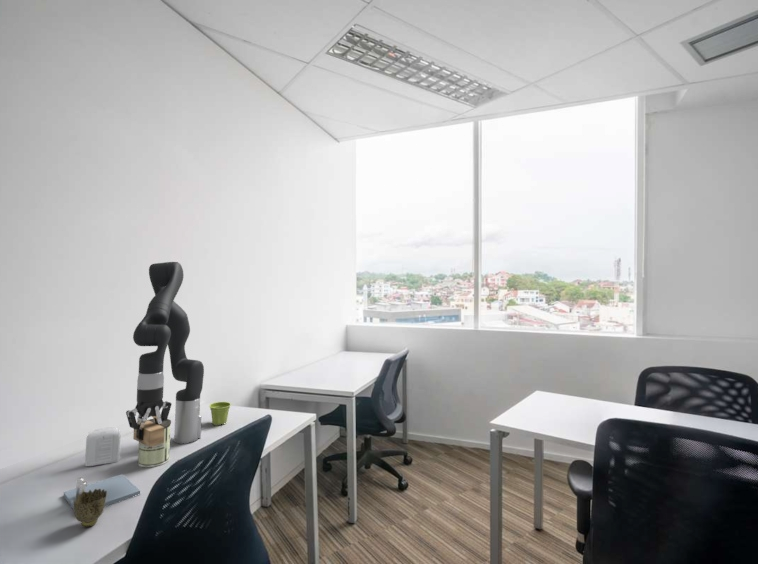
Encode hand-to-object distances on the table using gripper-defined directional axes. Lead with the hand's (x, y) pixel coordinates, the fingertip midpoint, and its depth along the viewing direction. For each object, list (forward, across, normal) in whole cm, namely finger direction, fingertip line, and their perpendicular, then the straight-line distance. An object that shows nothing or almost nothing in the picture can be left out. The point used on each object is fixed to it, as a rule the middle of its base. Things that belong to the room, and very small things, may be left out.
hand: (148, 437), depth 133 cm
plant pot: (+16, -48, -28) cm, 58 cm away
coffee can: (+16, -10, -14) cm, 23 cm away
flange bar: (+1, 0, 0) cm, 1 cm away
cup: (+16, +20, +9) cm, 27 cm away
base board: (+15, +12, -4) cm, 20 cm away
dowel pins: (+14, +17, -4) cm, 23 cm away
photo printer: (+16, +1, -27) cm, 31 cm away
